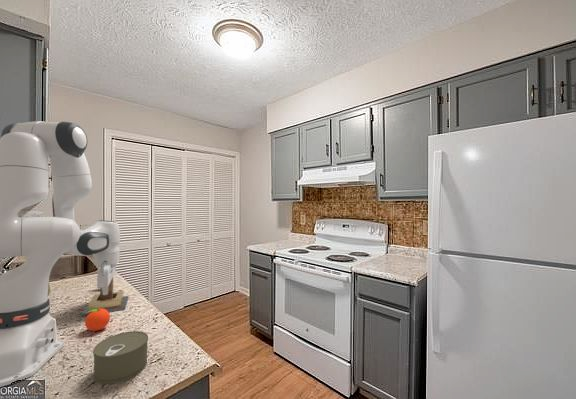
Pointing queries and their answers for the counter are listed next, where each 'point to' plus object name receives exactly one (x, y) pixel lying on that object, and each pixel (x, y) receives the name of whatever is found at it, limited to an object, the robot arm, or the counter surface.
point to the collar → (107, 303)
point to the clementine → (97, 319)
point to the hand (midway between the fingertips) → (106, 292)
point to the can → (120, 357)
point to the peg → (110, 293)
